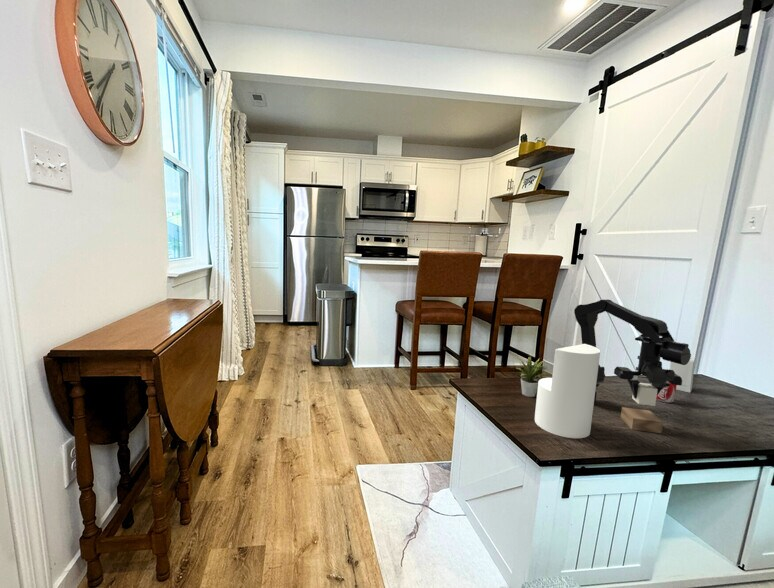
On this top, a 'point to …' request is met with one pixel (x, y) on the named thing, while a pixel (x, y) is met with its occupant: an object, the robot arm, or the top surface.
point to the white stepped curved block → (569, 392)
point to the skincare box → (684, 374)
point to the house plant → (530, 377)
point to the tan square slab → (641, 420)
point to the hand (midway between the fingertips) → (643, 399)
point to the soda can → (667, 394)
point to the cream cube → (646, 394)
